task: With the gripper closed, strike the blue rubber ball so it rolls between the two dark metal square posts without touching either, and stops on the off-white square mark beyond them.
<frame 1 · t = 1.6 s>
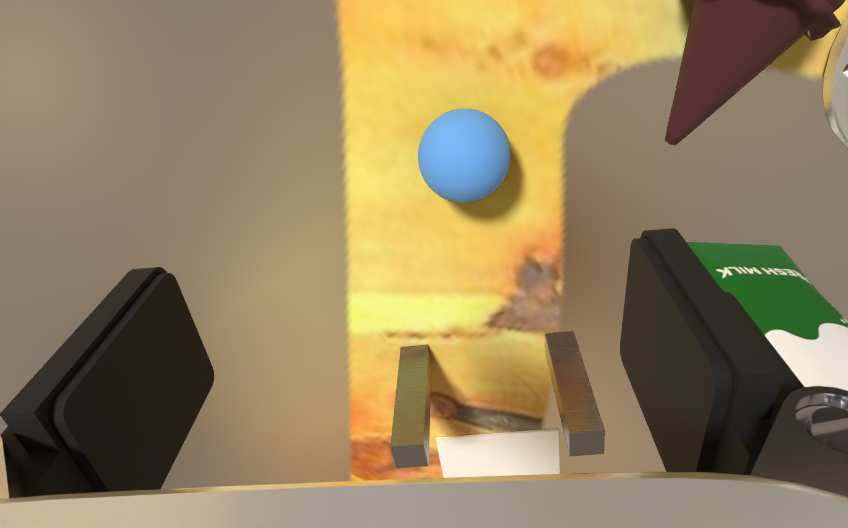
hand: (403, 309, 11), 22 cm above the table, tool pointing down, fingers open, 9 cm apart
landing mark: (500, 472, 47), on the table
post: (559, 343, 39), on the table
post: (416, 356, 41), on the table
milk carton: (705, 287, 37), on the table
ball: (464, 156, 30), on the table
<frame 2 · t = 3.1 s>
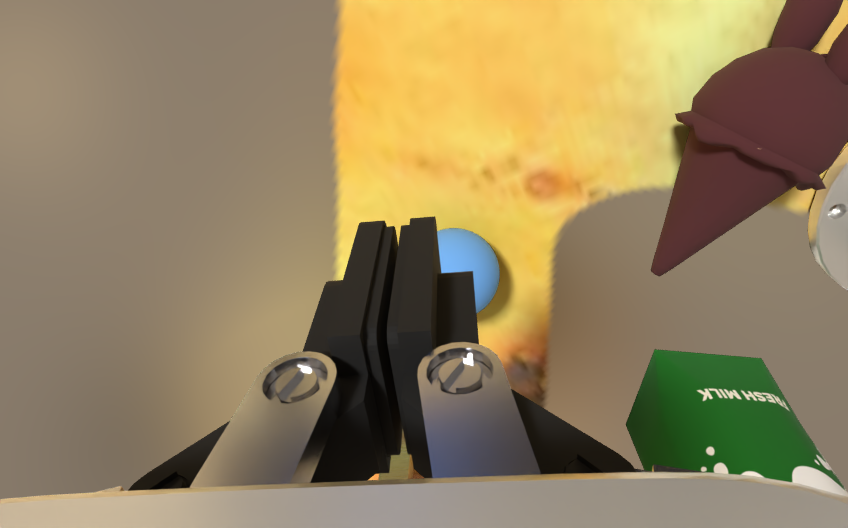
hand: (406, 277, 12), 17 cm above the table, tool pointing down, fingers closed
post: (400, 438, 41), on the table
milk carton: (687, 390, 37), on the table
ball: (453, 273, 30), on the table
icecream: (723, 117, 28), on the table
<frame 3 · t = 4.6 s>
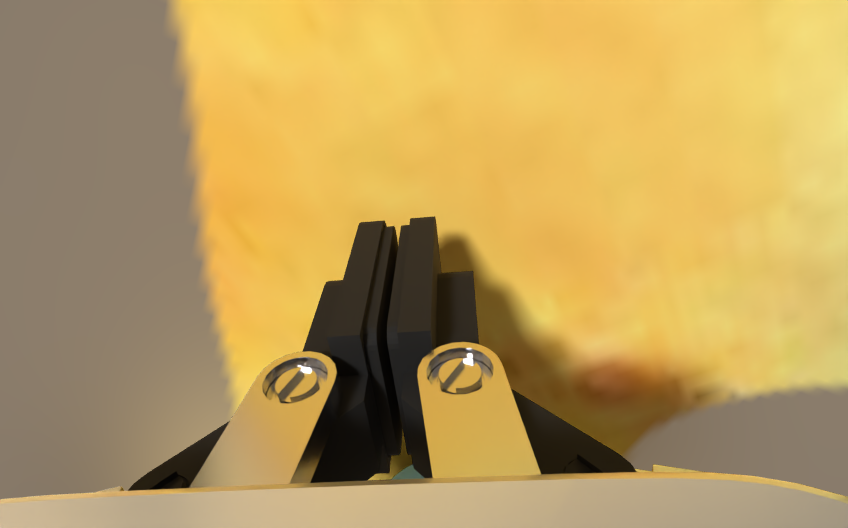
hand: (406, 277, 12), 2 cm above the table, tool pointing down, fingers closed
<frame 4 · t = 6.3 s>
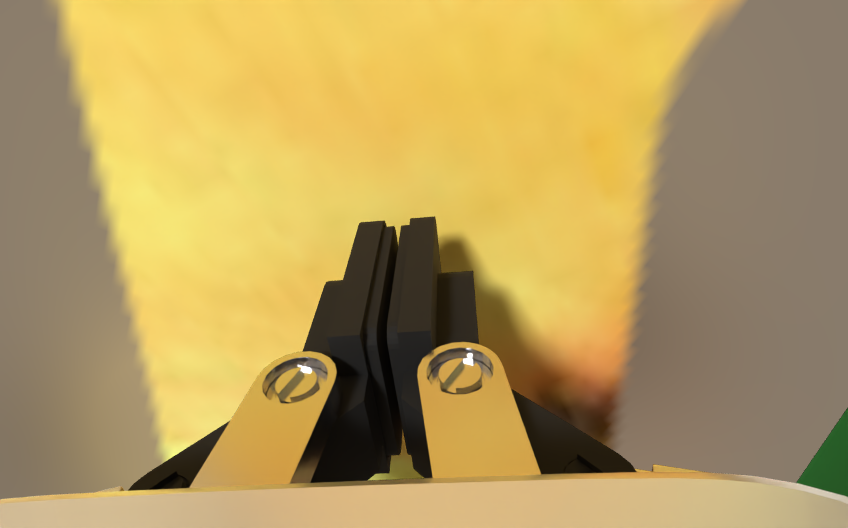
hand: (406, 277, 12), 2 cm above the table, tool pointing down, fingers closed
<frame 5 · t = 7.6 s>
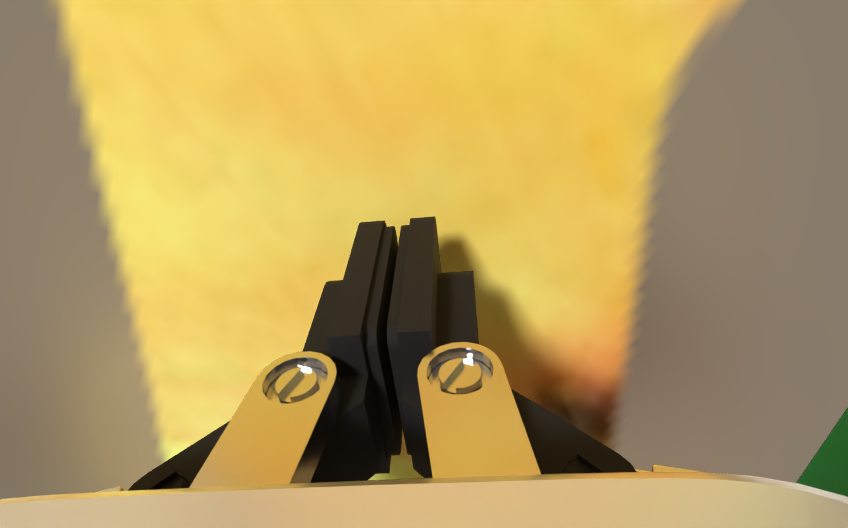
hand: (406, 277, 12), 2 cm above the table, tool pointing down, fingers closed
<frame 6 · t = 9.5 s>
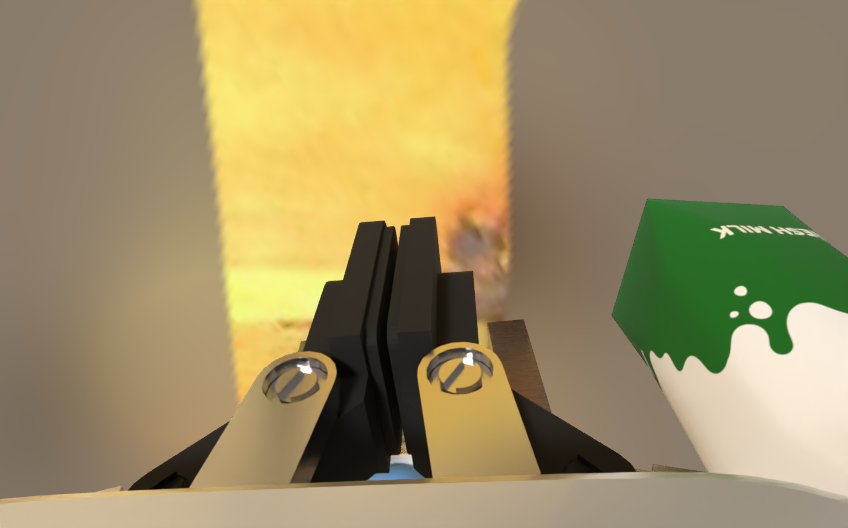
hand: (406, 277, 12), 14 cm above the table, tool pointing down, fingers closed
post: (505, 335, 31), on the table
milk carton: (689, 262, 29), on the table
ball: (394, 506, 34), on the table
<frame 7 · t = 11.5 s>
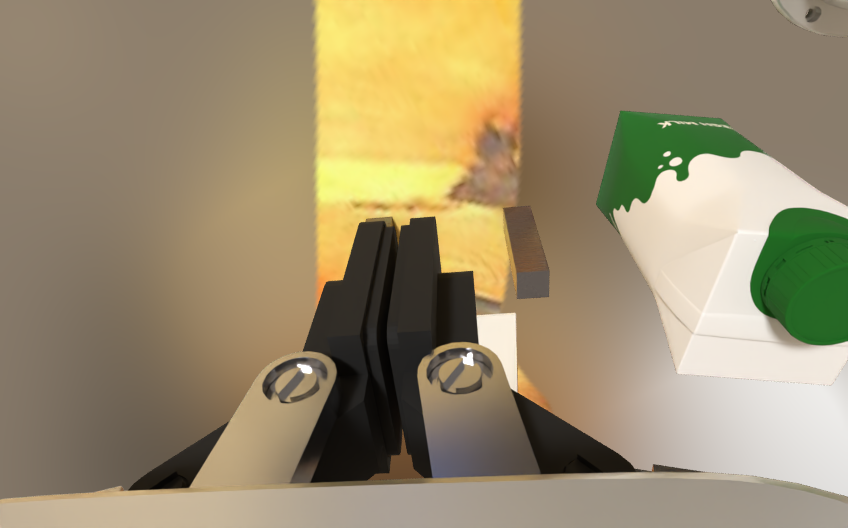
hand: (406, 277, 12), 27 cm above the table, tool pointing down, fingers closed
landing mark: (460, 360, 49), on the table
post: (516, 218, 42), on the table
milk carton: (653, 163, 39), on the table
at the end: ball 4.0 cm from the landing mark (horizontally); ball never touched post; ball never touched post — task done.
